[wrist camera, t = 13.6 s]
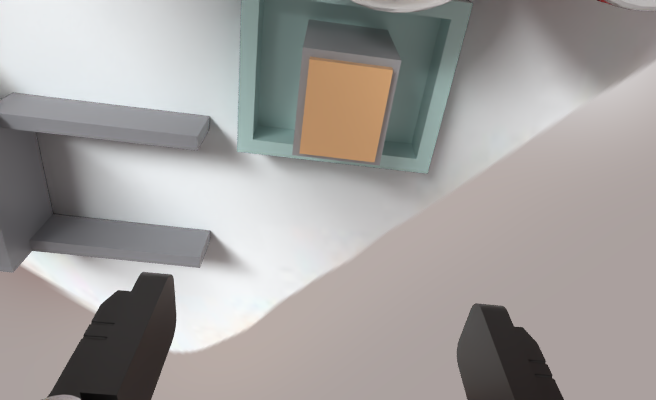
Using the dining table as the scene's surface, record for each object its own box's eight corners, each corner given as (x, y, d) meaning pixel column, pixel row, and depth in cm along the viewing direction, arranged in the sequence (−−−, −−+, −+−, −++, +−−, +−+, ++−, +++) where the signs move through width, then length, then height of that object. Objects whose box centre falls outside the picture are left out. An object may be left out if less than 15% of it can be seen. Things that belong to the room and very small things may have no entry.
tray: (250, -35, 29) (242, -29, 26) (460, -5, 29) (473, 3, 27) (244, 133, 34) (237, 151, 32) (420, 154, 35) (427, 173, 33)
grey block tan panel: (308, 19, 30) (302, 50, 23) (387, 30, 30) (402, 63, 24) (299, 110, 33) (291, 159, 26) (371, 118, 33) (380, 169, 27)
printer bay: (12, 92, 33) (-46, 126, 28) (209, 116, 34) (187, 153, 29) (42, 222, 39) (-2, 271, 34) (209, 240, 39) (191, 290, 34)
